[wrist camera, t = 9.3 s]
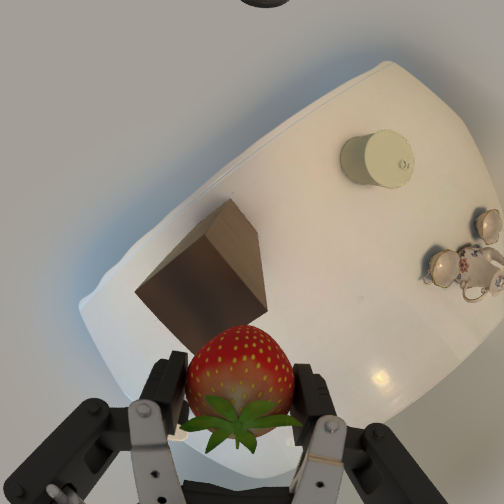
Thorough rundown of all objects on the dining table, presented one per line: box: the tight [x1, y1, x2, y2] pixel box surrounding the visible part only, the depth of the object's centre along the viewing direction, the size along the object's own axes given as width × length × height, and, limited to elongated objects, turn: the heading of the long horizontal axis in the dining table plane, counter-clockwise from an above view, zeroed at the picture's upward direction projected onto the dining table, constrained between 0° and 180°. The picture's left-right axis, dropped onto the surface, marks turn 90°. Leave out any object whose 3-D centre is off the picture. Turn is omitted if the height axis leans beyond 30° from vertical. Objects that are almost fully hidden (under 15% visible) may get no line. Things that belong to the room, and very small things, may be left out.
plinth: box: [135, 199, 268, 355], centre depth 37 cm, size 8×8×30 cm
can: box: [340, 130, 414, 188], centre depth 42 cm, size 9×9×12 cm
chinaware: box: [423, 209, 504, 303], centre depth 45 cm, size 28×17×17 cm, turn 129°
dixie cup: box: [167, 397, 189, 441], centre depth 58 cm, size 8×8×11 cm
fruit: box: [179, 325, 303, 454], centre depth 12 cm, size 5×5×8 cm
